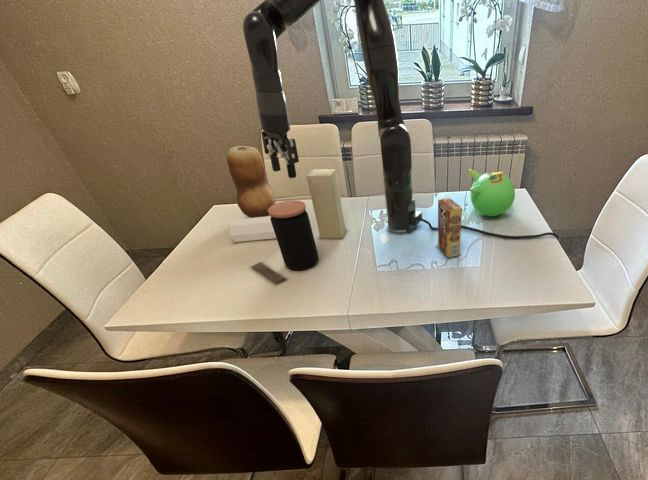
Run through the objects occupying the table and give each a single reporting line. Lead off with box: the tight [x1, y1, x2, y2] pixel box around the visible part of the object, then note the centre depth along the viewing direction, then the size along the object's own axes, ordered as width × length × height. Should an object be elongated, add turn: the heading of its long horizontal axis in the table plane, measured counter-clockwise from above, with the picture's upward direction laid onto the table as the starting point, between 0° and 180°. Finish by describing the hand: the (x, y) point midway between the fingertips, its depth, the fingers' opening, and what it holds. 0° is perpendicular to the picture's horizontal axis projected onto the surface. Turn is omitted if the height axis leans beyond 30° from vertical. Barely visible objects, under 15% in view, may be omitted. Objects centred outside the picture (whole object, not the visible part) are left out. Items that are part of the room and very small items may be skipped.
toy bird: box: [467, 168, 516, 217], centre depth 136 cm, size 18×17×15 cm
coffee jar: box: [268, 199, 319, 272], centre depth 114 cm, size 11×11×18 cm
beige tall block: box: [306, 168, 347, 239], centre depth 127 cm, size 8×7×21 cm
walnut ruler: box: [251, 262, 286, 285], centre depth 116 cm, size 15×3×1 cm, turn 46°
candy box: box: [437, 197, 463, 258], centre depth 116 cm, size 9×4×15 cm, turn 20°
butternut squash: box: [226, 145, 276, 218], centre depth 139 cm, size 14×13×25 cm
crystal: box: [227, 215, 277, 243], centre depth 133 cm, size 7×7×24 cm
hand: (284, 174), depth 112 cm, fingers open, 8 cm apart
